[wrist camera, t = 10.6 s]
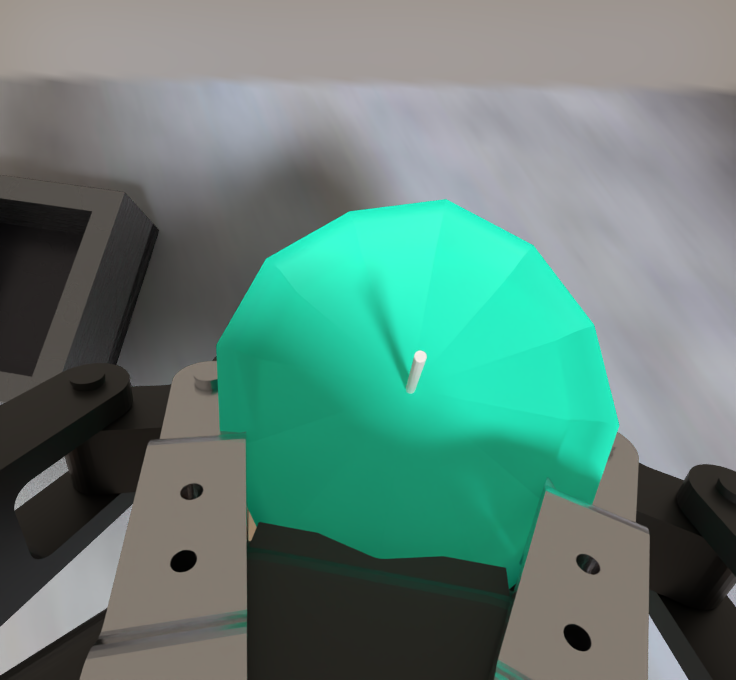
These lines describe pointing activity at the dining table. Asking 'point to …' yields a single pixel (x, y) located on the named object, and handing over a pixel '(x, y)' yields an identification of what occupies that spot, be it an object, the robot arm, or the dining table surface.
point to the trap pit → (65, 277)
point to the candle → (414, 386)
